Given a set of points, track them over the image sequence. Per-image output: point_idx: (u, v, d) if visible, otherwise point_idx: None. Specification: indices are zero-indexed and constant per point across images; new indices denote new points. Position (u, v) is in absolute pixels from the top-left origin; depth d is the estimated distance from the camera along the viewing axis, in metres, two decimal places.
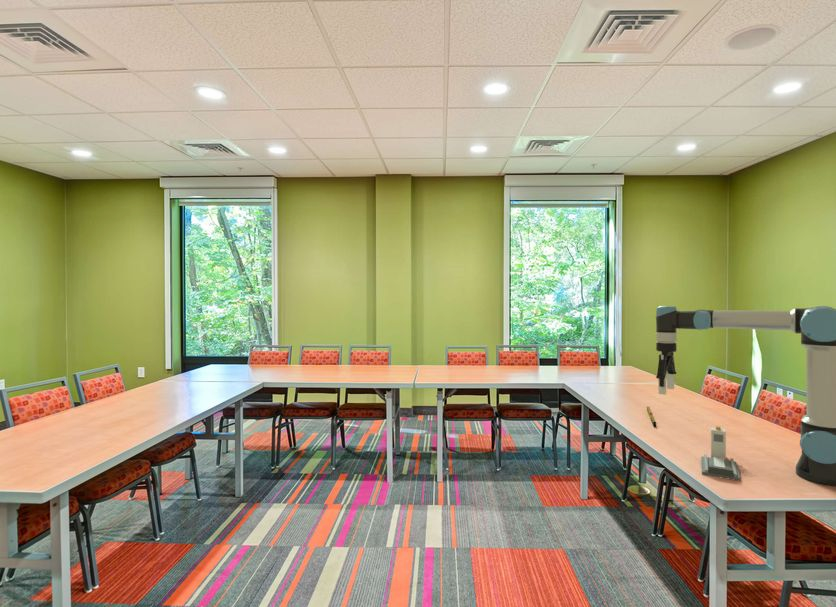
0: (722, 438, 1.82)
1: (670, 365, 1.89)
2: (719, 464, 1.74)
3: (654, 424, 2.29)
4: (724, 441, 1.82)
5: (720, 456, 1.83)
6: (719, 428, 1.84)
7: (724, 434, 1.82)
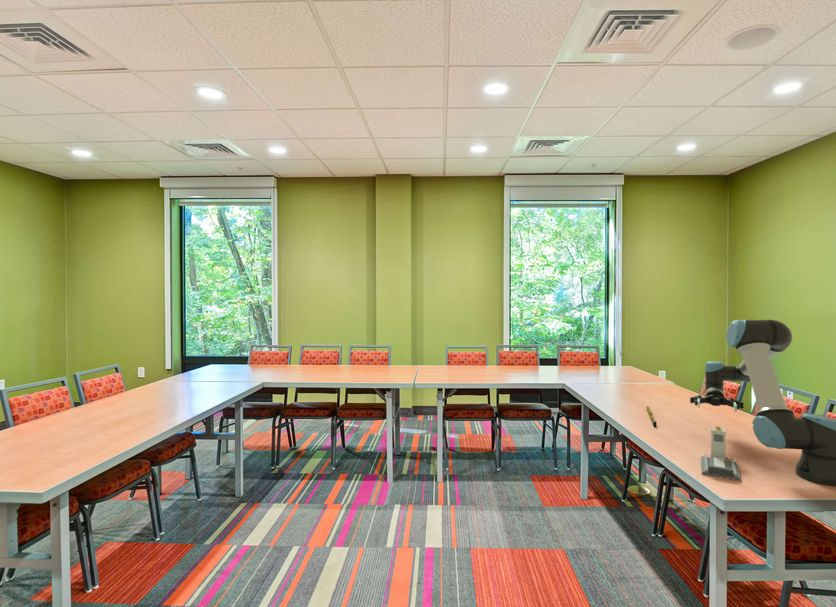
0: (722, 438, 1.82)
1: (726, 400, 2.00)
2: (719, 464, 1.74)
3: (654, 424, 2.29)
4: (724, 441, 1.82)
5: (720, 456, 1.83)
6: (719, 428, 1.84)
7: (724, 434, 1.82)
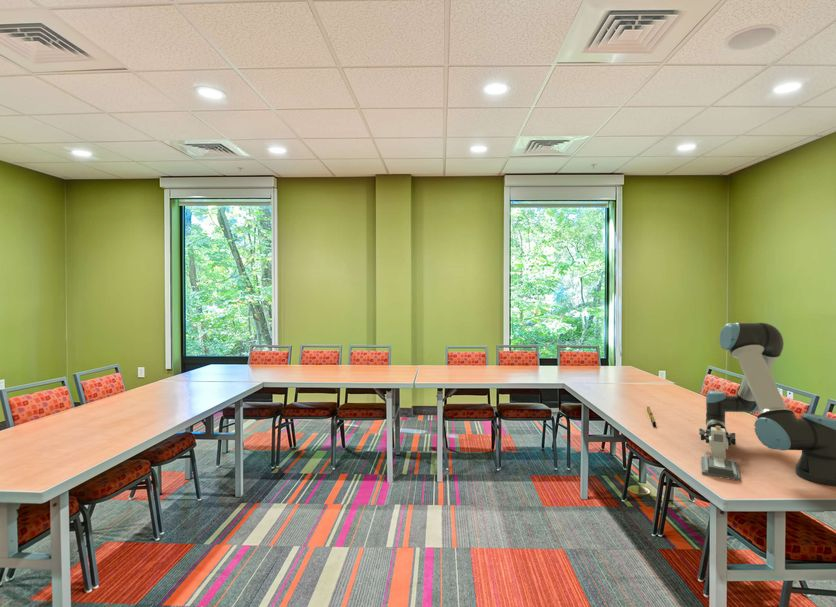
0: (722, 438, 1.82)
1: None
2: (719, 464, 1.74)
3: (654, 424, 2.29)
4: (724, 441, 1.82)
5: (720, 456, 1.83)
6: (719, 428, 1.84)
7: (724, 434, 1.82)
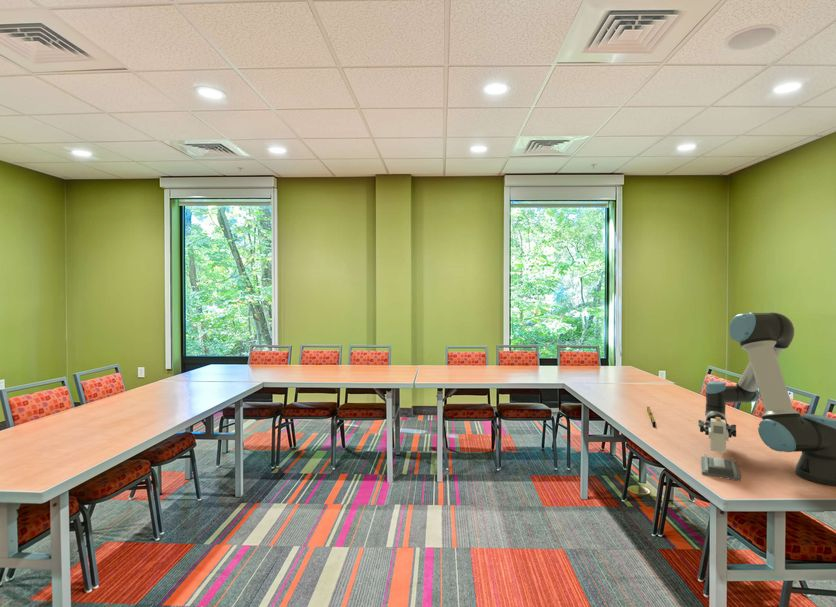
0: (723, 429, 1.75)
1: None
2: (719, 464, 1.74)
3: (654, 424, 2.29)
4: (724, 433, 1.74)
5: (720, 448, 1.75)
6: (719, 419, 1.76)
7: (724, 425, 1.74)
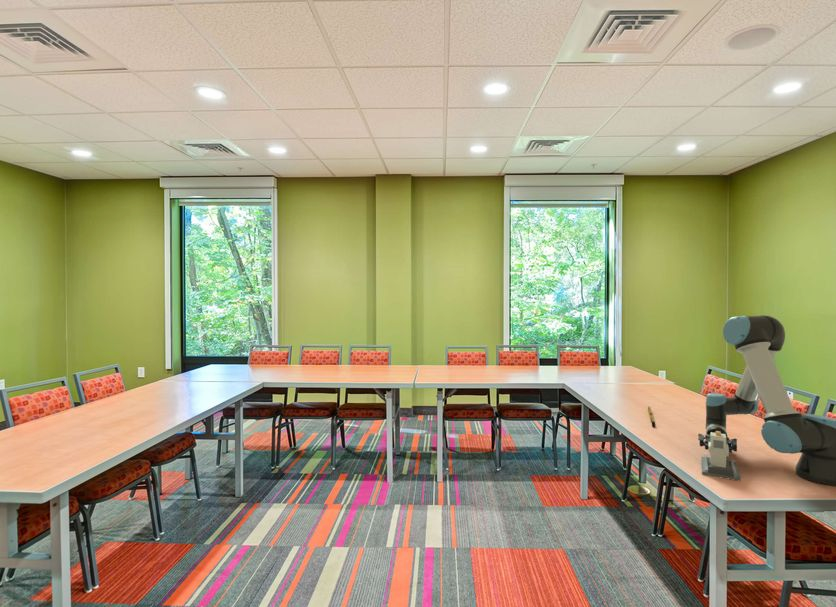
0: (723, 444, 1.70)
1: None
2: None
3: (653, 424, 2.29)
4: (724, 447, 1.70)
5: (721, 464, 1.70)
6: (719, 433, 1.72)
7: (724, 440, 1.70)
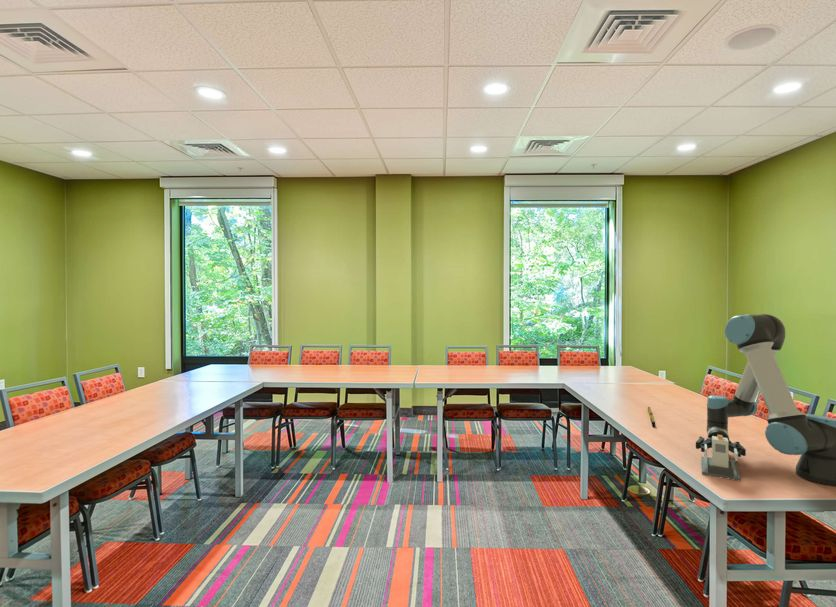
0: (725, 448, 1.66)
1: (728, 445, 1.73)
2: None
3: (653, 424, 2.29)
4: (727, 452, 1.66)
5: None
6: (721, 437, 1.68)
7: (727, 444, 1.66)
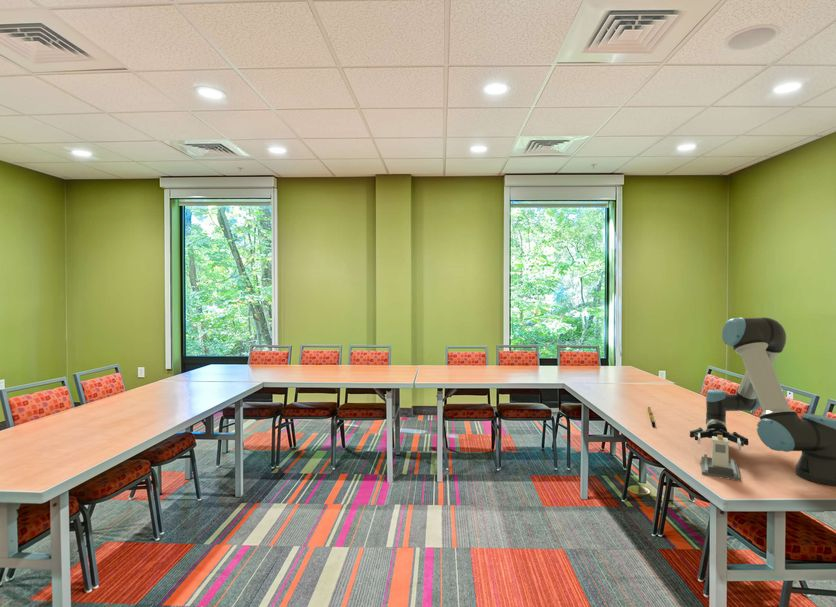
0: (725, 448, 1.66)
1: (729, 435, 1.84)
2: None
3: (653, 424, 2.29)
4: (727, 452, 1.66)
5: None
6: (721, 437, 1.68)
7: (727, 444, 1.66)
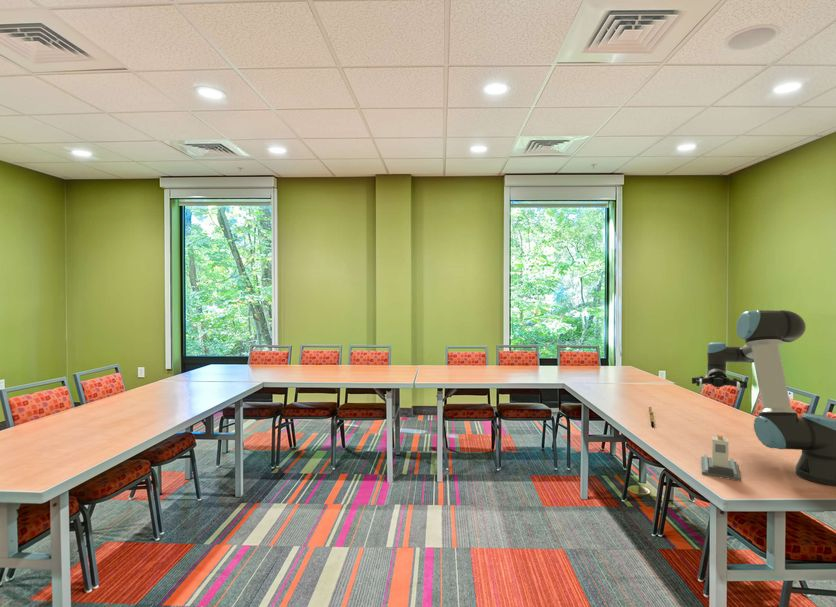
0: (725, 448, 1.66)
1: (729, 380, 1.94)
2: None
3: (652, 424, 2.29)
4: (727, 452, 1.66)
5: None
6: (721, 437, 1.68)
7: (727, 444, 1.66)
